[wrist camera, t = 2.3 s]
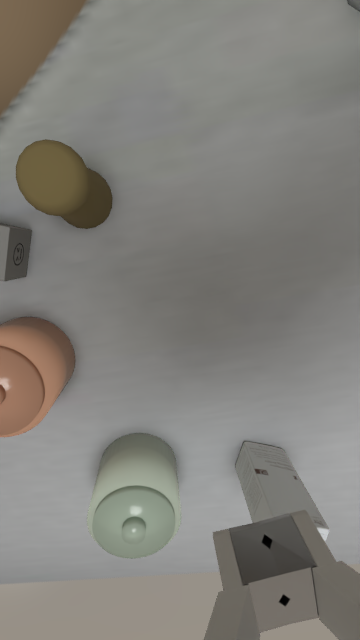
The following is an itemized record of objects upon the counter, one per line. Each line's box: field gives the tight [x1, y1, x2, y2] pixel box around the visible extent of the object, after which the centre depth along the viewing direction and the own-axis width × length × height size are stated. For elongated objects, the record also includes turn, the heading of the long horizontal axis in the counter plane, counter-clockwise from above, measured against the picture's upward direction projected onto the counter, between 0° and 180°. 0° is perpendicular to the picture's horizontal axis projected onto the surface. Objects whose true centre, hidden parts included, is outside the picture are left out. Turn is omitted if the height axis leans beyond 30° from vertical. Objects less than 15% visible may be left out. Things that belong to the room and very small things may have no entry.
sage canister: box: [87, 433, 181, 559], centre depth 35 cm, size 10×10×10 cm
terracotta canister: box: [0, 317, 75, 437], centre depth 31 cm, size 10×10×10 cm
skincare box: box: [235, 442, 329, 541], centre depth 35 cm, size 6×4×12 cm
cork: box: [16, 140, 112, 229], centre depth 26 cm, size 6×6×11 cm
